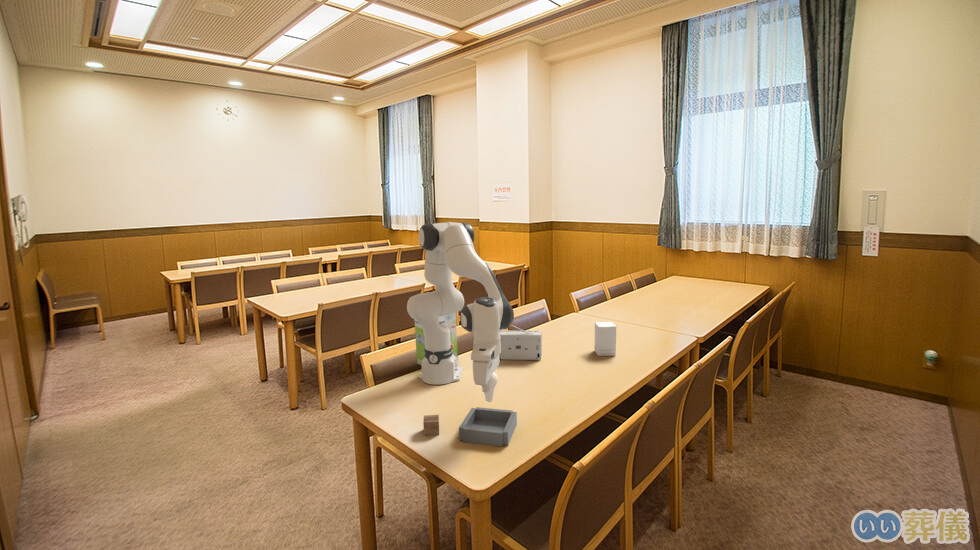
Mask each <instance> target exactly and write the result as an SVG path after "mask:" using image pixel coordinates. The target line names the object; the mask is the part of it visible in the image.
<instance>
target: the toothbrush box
mask: <svg viewBox="0 0 980 550" xmlns="http://www.w3.org/2000/svg"><path fill="white" fill-rule="evenodd" d="M438 322H439V323H440V324H443V325H445V326H447V327H448V329H449V330H450V342H451V344H453V349H452V352H453V355H454V356H456V357H457V358H458V359H459V355H458V354H459V351H458V335H457V332H458V331H457V312H456V313H454V314H450V315H445V316H439V317H438ZM414 331H415V332H414V333H415V352H416V364H417V365H419V366H421V367H422V360H423V359H424V358H425V356H424V348H425V339H424V332H423V329H422V327H421V325H420V324H419V322H418V321H416V320H415V319H414Z"/></svg>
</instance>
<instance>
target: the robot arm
mask: <svg viewBox="0 0 980 550" xmlns="http://www.w3.org/2000/svg"><path fill="white" fill-rule="evenodd" d="M417 235H418V238H417V239H418V242H419V246H420V247H421V248H422V249H423V250H425V255H424V256H425V257H424V271H423V272H424V274H423V275H424V278H425V280H426V282H427V283H429V284H431V285H433V286H435V290H434V291H428V292H420V293H417V294H415V295H412V296H411V297H409V298H408V301H407V302H406V311H407V314H408V315H409V317H410V318H412V319H413V320H414V321H415V320H416V321H418V322H419V324H420V325H421V327H422V329H423V332H424V339H425V348H424V356H425V358H424V359H423V360H422V366H421V373H420V374H418V378H419V379H420V380H422V381H423V382H424V383H426V384H429V385H434V386H435V385H439V386H440V385H446V384H449V383H453V382H458V381H461V378H462V375H463V371H464V367H463V366H462V365H459V357H458V358H457V357H456V356H454V355H453V352H452V349H453V344H451V342H450V330H449V329H448V327H447V326H445V325H443V324H440V323H439V322H438V317H439V316H445V315H450V314H454V313H456V314H457V313H458V312H459V317H460V318H459V319H460V326H461V327H462V329H464V330H465V331H467V332H468V333H473V341H472V342H473V345H472V351H471V354H470V361H472V375H473V382H474V384H475V386H481V385H482V386H481V388H482V389H481V391H482V392H483V393H484V392H486V393H487V392H488V390H489V386H488V381H489V379H490V378H491V376H492V374H493V372H496V370H497V369H498V367H499V365H500V360H501V358H500V356H499V354H500V353H501V339H500V334H499V332H500V330H508V328H509V327H510V326H511V325H512V323H513V322H514V319H515V313H514V309H513V306H512V304H511V303H510V302H509V300H508V299H507V298H506V296H505V294H504V292H503V289H502V288H501V286H500V284H499V281H498V280H497V278H496V275H495V274H494V272H493V270H492V267H491V266H490V264H489V263H487V262H486V261H484V260H483V259H482V258H481V257H480V256H479V255H478V253H477V252H476V249H475V246H474V242H475V231H474V228H473V226H472V225H471V224H470V223H467V222H454V221H453V222H452V221H446V222H435V223H431V222H430V223H426V224H423V225H421V227H420V228H419V232H418V234H417ZM452 273H453V274H454V275H457V276H459V277H463V278H467V279H471V280H474V281H476V282H479V283H480V284H482V285H483V287H484V290H485V291H486V293H487V295H488V296H480V297H477V298H475V300H474V301H473V303H472V302H471V303H468V304H465V297H464V295H463V293H462V291H460V290H458V289H457V288H456V287H455V285H454V282H453V279H452Z"/></svg>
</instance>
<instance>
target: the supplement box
mask: <svg viewBox="0 0 980 550" xmlns="http://www.w3.org/2000/svg"><path fill="white" fill-rule="evenodd" d="M593 347H594V348H593V349H594V350H595V351H594V352H595V354H596V355H597V356H598V357H609V356H610V357H614V356H615V357H616V354H617V351H616V350H617V326H616V325H615V323H613V322H612V321H602V322H601V321H596V322H594V346H593Z"/></svg>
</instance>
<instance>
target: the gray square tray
mask: <svg viewBox="0 0 980 550" xmlns="http://www.w3.org/2000/svg"><path fill="white" fill-rule="evenodd" d="M517 425H518V412H517V411H513V410H510V409H499V408H488V407H478V406H477V407H471V408H470V409H469V412H468V413H467V415H466V416H465V417H464V418H463V420H462V422H461V424H460V425H459V427H458V435H459V436H458V438H459V441H463V443H467V444H468V443H469V444H476V445H487V446H492V447H493V446H495V447H503V446H507V447H508V446H509V444H510V443H511V440H512V437H513V435H514V432H515V429H516V428H517Z"/></svg>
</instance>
